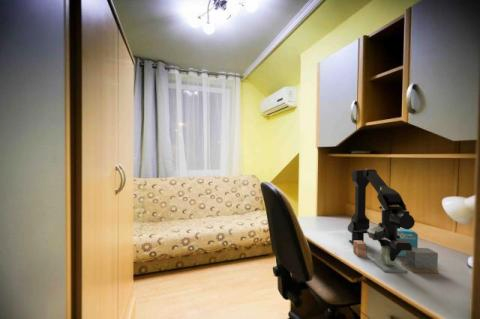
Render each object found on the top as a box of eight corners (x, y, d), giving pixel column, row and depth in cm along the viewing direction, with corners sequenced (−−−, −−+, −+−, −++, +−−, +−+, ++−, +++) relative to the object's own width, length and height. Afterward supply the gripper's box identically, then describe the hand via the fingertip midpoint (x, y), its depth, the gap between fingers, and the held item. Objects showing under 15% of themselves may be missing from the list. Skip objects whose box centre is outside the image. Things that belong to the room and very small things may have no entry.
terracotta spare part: (353, 252, 109) (353, 240, 109) (361, 252, 109) (361, 240, 109) (357, 256, 105) (357, 243, 105) (366, 256, 105) (366, 243, 105)
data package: (388, 255, 107) (389, 230, 107) (384, 251, 111) (385, 227, 111) (417, 258, 104) (418, 232, 104) (412, 254, 108) (412, 229, 108)
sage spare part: (380, 259, 97) (381, 246, 97) (390, 260, 97) (390, 246, 97) (386, 264, 93) (387, 249, 93) (396, 264, 93) (396, 250, 93)
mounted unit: (401, 264, 97) (401, 245, 97) (424, 265, 97) (425, 246, 97) (413, 272, 90) (413, 252, 90) (438, 273, 90) (439, 253, 90)
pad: (371, 261, 99) (371, 259, 99) (392, 262, 99) (392, 260, 99) (384, 272, 90) (384, 270, 90) (407, 272, 90) (407, 270, 90)
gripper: (358, 215, 104) (358, 249, 104) (384, 228, 86) (383, 269, 86) (383, 216, 104) (382, 249, 104) (413, 229, 85) (412, 269, 85)
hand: (388, 258), depth 95 cm, fingers closed on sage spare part, 4 cm apart
